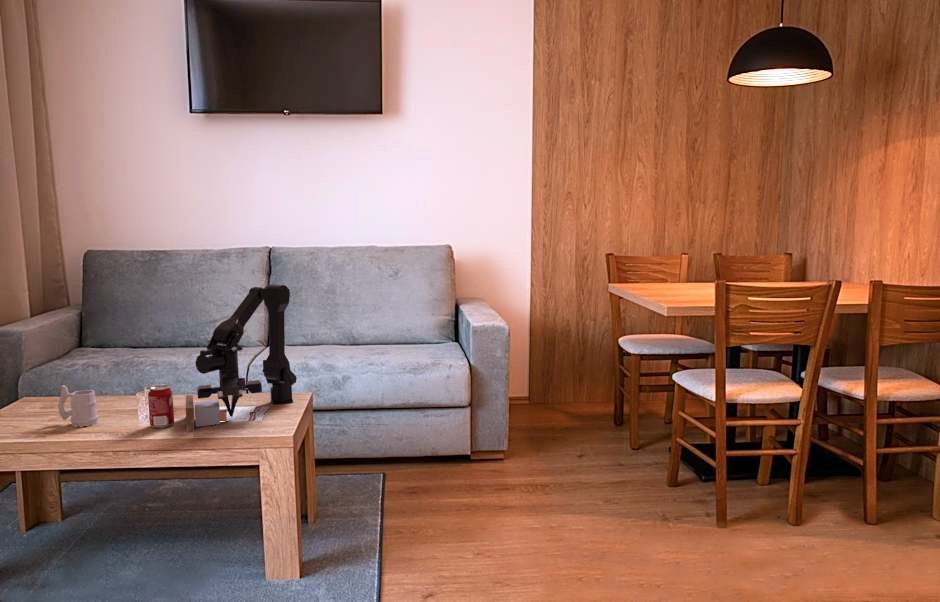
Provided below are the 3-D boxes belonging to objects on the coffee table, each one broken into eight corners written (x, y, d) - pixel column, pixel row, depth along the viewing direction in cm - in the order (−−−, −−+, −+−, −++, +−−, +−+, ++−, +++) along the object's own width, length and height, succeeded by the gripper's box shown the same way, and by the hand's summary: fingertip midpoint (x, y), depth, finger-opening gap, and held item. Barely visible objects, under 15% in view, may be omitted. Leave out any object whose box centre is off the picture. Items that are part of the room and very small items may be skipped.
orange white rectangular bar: (226, 419, 225) (226, 409, 224) (227, 421, 222) (226, 411, 221) (199, 422, 222) (198, 411, 221) (199, 424, 219) (198, 414, 218)
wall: (194, 416, 228) (192, 394, 227) (194, 430, 213) (192, 407, 212) (187, 417, 227) (186, 395, 226) (186, 431, 212) (185, 408, 211)
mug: (90, 427, 217) (87, 388, 215) (52, 427, 217) (48, 388, 216) (104, 420, 224) (101, 382, 223) (67, 420, 225) (64, 382, 223)
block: (219, 416, 227) (218, 399, 226) (220, 424, 219) (219, 407, 218) (195, 418, 225) (194, 402, 224) (195, 426, 216) (194, 409, 216)
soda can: (169, 429, 215) (166, 389, 213) (146, 429, 215) (143, 389, 213) (177, 422, 221) (175, 384, 220) (155, 422, 221) (153, 384, 220)
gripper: (196, 375, 211) (199, 427, 213) (262, 369, 218) (264, 419, 220) (196, 367, 221) (199, 417, 223) (259, 362, 228) (261, 410, 230)
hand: (231, 416), depth 224 cm, fingers closed
